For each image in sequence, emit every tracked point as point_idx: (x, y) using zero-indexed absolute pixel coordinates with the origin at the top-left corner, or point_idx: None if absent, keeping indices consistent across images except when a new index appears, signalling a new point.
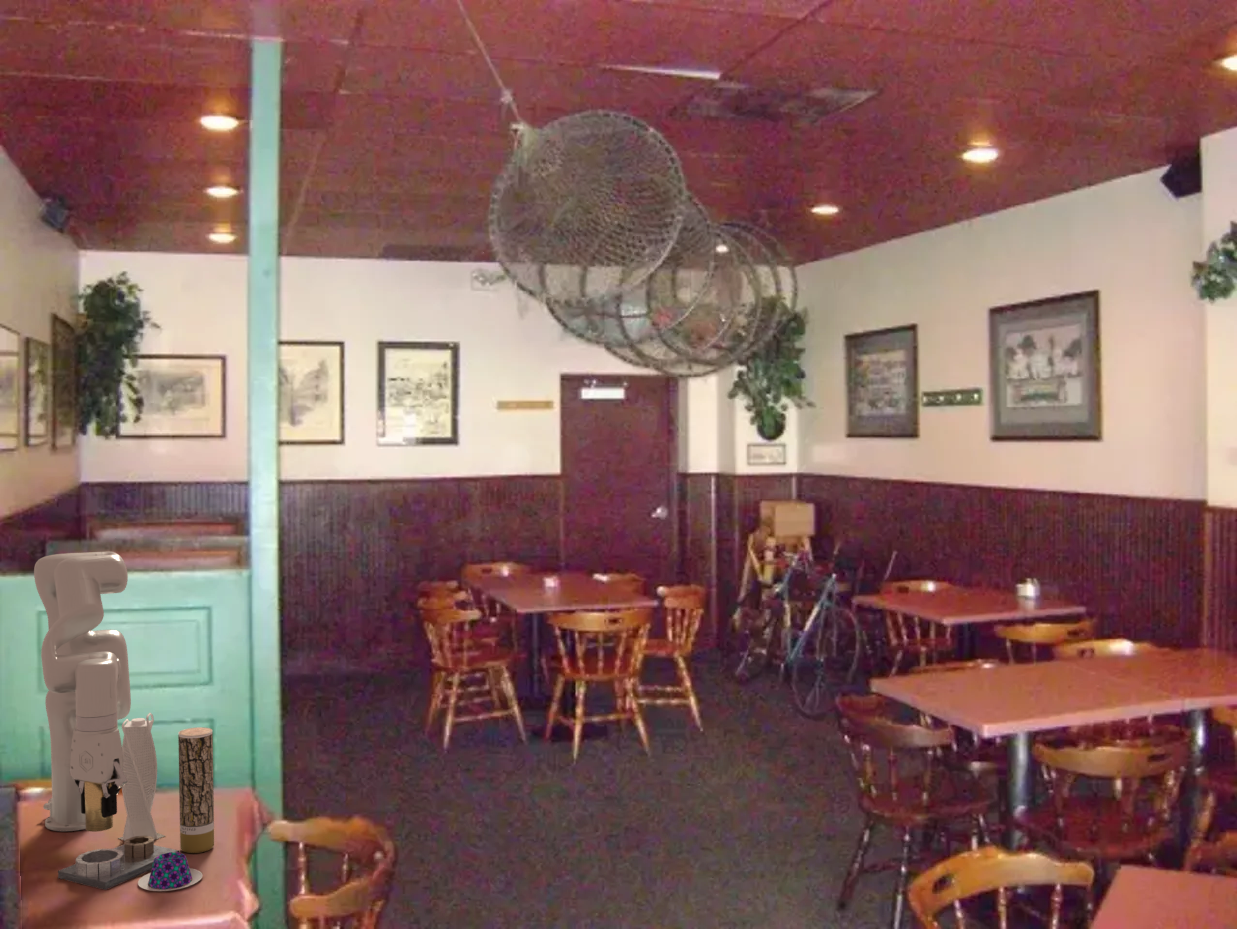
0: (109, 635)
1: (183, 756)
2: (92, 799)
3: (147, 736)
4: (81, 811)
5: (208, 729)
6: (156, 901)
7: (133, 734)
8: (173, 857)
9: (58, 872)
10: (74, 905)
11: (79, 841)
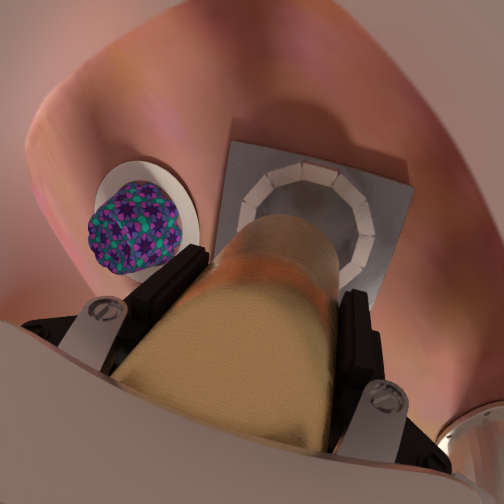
0: None
1: None
2: (214, 288)
3: None
4: (365, 294)
5: None
6: (107, 128)
7: None
8: (113, 252)
9: (411, 186)
10: (247, 42)
11: (455, 382)
